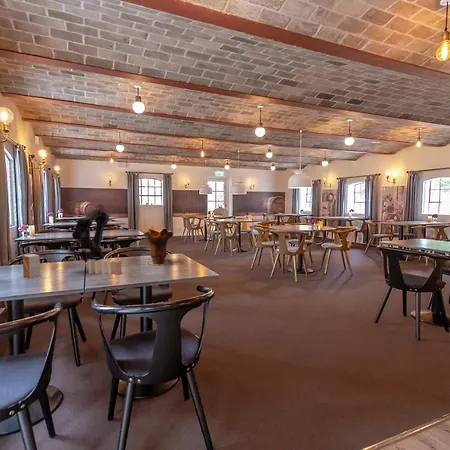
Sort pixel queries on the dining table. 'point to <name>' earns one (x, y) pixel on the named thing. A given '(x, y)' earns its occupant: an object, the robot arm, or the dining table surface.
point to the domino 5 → (117, 267)
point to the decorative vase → (158, 245)
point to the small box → (31, 265)
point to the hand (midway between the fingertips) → (86, 262)
